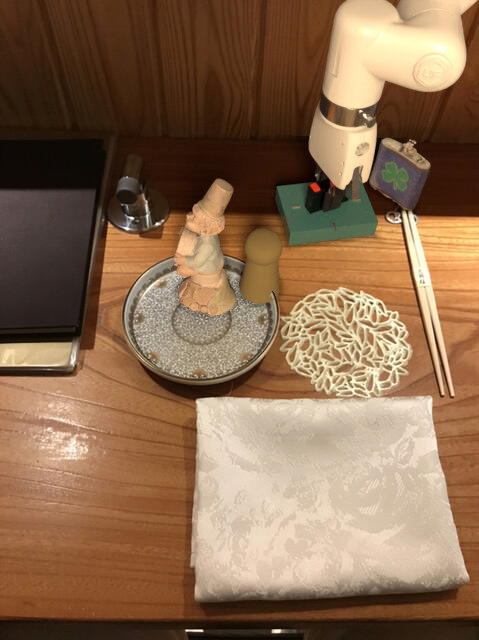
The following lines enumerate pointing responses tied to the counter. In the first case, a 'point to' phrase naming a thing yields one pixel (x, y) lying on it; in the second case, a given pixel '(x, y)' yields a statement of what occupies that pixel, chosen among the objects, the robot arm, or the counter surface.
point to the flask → (399, 172)
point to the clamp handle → (318, 196)
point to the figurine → (205, 254)
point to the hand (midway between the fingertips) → (326, 202)
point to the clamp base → (323, 217)
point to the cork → (261, 266)
